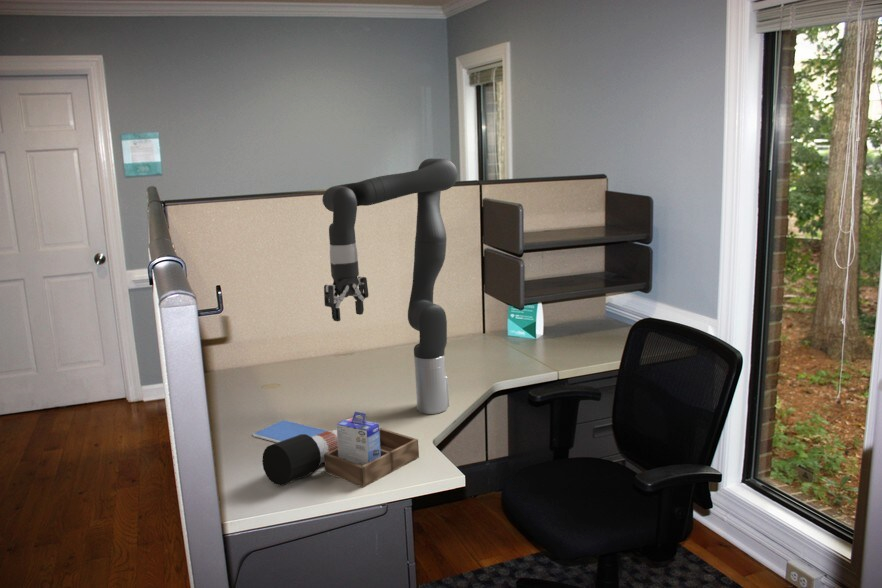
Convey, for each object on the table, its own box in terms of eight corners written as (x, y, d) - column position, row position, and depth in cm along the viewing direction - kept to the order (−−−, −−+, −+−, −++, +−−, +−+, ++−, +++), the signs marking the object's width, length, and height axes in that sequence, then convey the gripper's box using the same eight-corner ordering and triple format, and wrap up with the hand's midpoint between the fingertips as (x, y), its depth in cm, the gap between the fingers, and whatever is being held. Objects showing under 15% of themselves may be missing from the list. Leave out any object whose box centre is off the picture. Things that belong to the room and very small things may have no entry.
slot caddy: (381, 445, 197) (380, 427, 196) (419, 457, 189) (418, 439, 188) (325, 472, 183) (324, 454, 182) (363, 487, 174) (362, 468, 173)
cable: (373, 455, 202) (386, 427, 199) (283, 493, 175) (296, 462, 171) (349, 433, 207) (361, 405, 203) (257, 467, 179) (269, 436, 175)
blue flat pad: (251, 437, 208) (250, 433, 208) (283, 422, 218) (283, 418, 218) (299, 451, 197) (299, 446, 197) (331, 434, 207) (331, 430, 207)
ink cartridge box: (383, 468, 182) (379, 414, 179) (370, 477, 178) (366, 422, 174) (352, 461, 187) (347, 408, 184) (338, 469, 183) (334, 415, 180)
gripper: (353, 255, 207) (357, 310, 210) (315, 263, 196) (319, 321, 199) (372, 257, 202) (376, 313, 205) (333, 265, 191) (338, 325, 195)
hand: (348, 317), depth 202 cm, fingers open, 8 cm apart
